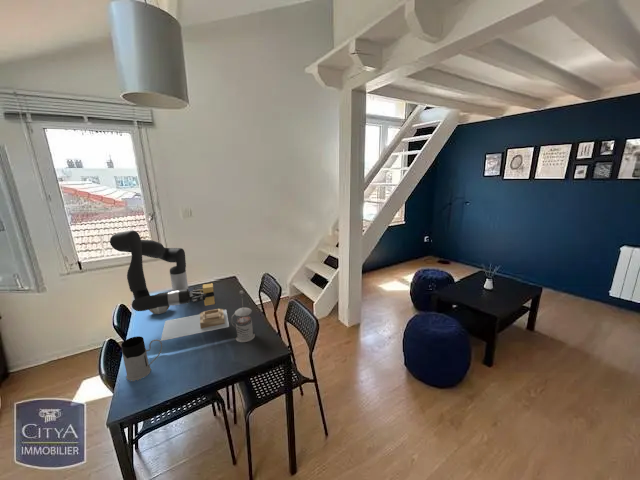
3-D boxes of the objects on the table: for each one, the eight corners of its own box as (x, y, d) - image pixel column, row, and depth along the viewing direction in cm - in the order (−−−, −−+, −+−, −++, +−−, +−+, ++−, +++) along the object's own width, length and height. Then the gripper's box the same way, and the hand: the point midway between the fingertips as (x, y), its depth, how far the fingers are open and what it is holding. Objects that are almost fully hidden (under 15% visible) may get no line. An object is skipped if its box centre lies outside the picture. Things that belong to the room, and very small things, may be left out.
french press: (249, 343, 134) (246, 296, 127) (228, 340, 136) (223, 294, 130) (258, 331, 143) (255, 287, 137) (237, 329, 145) (233, 285, 139)
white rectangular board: (165, 322, 152) (165, 320, 152) (226, 310, 164) (226, 309, 164) (160, 342, 134) (160, 340, 134) (229, 328, 146) (229, 326, 146)
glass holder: (128, 369, 116) (122, 338, 113) (166, 360, 122) (161, 330, 118) (123, 384, 109) (116, 351, 105) (164, 373, 114) (159, 341, 110)
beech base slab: (200, 317, 155) (199, 310, 154) (223, 313, 159) (222, 306, 158) (200, 328, 144) (199, 321, 143) (224, 323, 149) (224, 316, 148)
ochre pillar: (204, 301, 150) (202, 284, 148) (214, 300, 152) (212, 283, 150) (204, 305, 146) (202, 288, 143) (214, 304, 148) (213, 286, 145)
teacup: (149, 310, 165) (147, 297, 163) (172, 305, 171) (171, 293, 169) (146, 322, 152) (143, 309, 150) (171, 317, 157) (169, 304, 155)
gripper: (176, 296, 135) (213, 290, 141) (179, 285, 148) (212, 280, 154) (178, 310, 137) (215, 304, 143) (180, 298, 150) (214, 292, 156)
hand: (213, 291), depth 148 cm, fingers closed on ochre pillar, 5 cm apart
